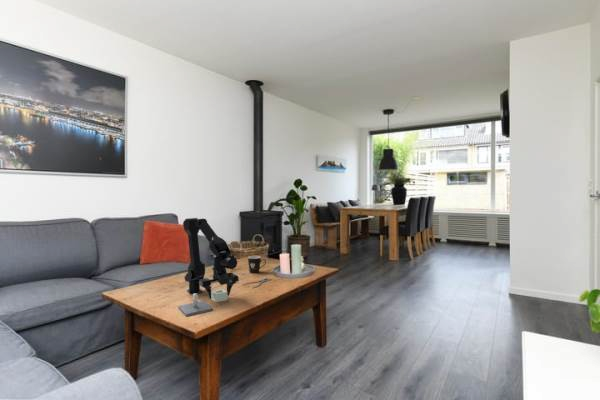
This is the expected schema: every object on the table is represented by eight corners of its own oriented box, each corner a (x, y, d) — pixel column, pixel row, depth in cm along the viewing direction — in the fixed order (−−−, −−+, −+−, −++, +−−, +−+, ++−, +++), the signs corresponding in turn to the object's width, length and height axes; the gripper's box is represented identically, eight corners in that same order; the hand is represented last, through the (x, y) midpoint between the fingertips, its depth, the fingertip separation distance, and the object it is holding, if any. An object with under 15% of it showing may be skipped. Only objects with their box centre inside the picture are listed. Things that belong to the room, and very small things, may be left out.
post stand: (178, 308, 147) (177, 293, 146) (203, 302, 154) (203, 288, 153) (185, 316, 137) (185, 300, 137) (212, 310, 144) (212, 295, 144)
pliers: (239, 285, 180) (258, 276, 199) (239, 287, 180) (258, 278, 199) (254, 287, 177) (271, 278, 195) (254, 289, 177) (271, 279, 195)
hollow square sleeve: (211, 299, 159) (211, 291, 159) (222, 296, 163) (222, 288, 162) (215, 302, 154) (215, 294, 154) (227, 299, 158) (227, 292, 158)
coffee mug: (245, 272, 211) (245, 257, 211) (254, 269, 218) (254, 255, 218) (258, 275, 204) (258, 259, 204) (266, 272, 211) (266, 257, 211)
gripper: (206, 272, 146) (206, 305, 146) (243, 266, 157) (243, 298, 157) (198, 267, 155) (198, 299, 155) (234, 262, 166) (234, 292, 166)
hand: (219, 297), depth 158 cm, fingers open, 9 cm apart
